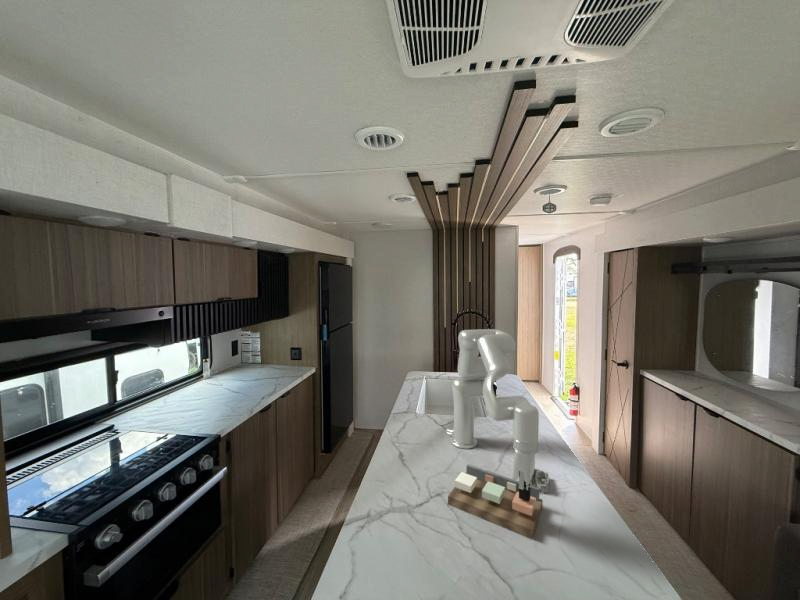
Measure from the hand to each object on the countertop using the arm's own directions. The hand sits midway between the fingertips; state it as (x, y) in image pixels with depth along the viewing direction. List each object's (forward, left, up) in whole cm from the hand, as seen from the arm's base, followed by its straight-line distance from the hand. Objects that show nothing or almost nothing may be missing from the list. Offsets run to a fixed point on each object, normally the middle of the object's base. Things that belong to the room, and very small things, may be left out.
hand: (524, 498), depth 105 cm
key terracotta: (0, 0, -3) cm, 3 cm away
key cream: (-20, 0, -3) cm, 20 cm away
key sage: (-10, 0, -3) cm, 11 cm away
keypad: (-10, +2, -8) cm, 13 cm away
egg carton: (0, +23, -8) cm, 24 cm away
